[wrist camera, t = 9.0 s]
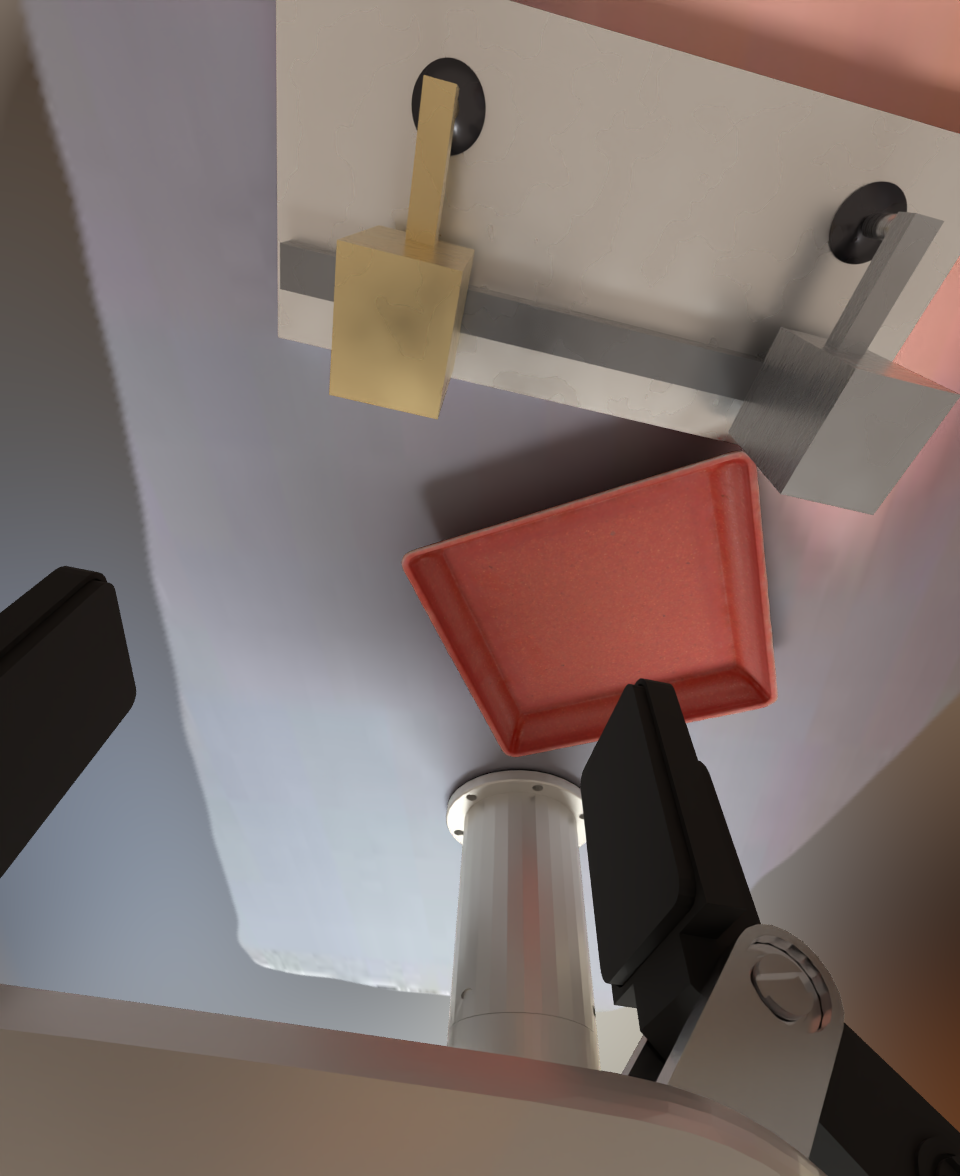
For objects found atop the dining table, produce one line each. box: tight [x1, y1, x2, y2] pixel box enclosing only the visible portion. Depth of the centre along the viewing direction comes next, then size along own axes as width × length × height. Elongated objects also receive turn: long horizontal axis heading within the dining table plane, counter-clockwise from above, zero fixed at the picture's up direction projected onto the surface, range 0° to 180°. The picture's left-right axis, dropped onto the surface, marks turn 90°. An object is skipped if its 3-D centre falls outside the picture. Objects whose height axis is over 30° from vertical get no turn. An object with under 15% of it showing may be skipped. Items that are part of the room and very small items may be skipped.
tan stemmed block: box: [329, 75, 475, 419], centre depth 18 cm, size 9×4×7 cm, turn 168°
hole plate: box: [276, 0, 960, 515], centre depth 19 cm, size 12×26×9 cm, turn 78°
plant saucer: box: [402, 450, 778, 757], centre depth 33 cm, size 18×18×3 cm
